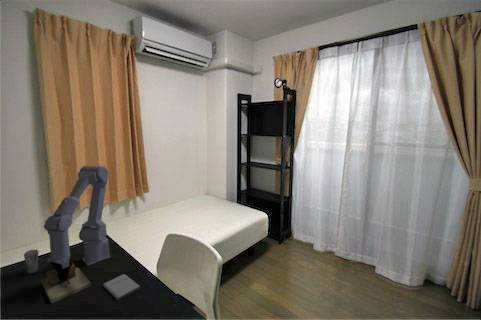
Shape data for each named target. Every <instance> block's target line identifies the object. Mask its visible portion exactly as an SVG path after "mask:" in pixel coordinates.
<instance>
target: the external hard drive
mask: <svg viewBox="0 0 481 320" xmlns="http://www.w3.org/2000/svg"><path fill="white" fill-rule="evenodd" d="M102 285H103V287H104V289H106V290H107V291H108V292H109V293H110V294H111V295H112V296H113V297H114V298H115V299H116V301H120V300H122V299H123V298H125V297H127V296H129V295H131V294H132V293H134V292H136V291H138V290H140V289H141V286H140V285H139V284H138V283H136V282H135V281H134V280H133V279H131V278H130V277H129V276H128V275H126V274H124V273H122V274H121V275H119V276H117V277H115V278H113V279H111V280H108V281H106V282H105V283H103V284H102Z"/></svg>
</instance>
